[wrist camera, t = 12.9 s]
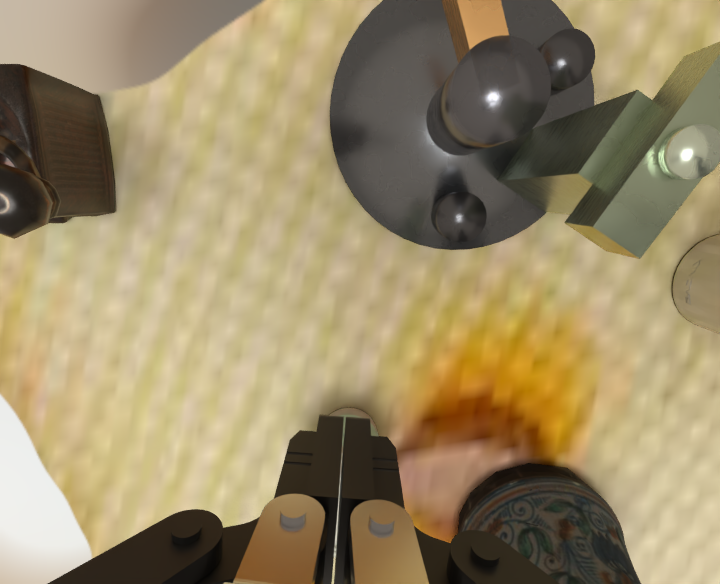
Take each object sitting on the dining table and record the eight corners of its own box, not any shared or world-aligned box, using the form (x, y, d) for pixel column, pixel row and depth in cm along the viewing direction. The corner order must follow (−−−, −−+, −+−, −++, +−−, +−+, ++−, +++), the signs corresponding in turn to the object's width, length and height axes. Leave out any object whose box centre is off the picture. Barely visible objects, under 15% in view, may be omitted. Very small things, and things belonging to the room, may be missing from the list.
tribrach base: (634, 79, 37) (928, -43, 18) (485, 290, 42) (596, 375, 22) (421, -79, 35) (502, -419, 15) (285, 163, 39) (214, 135, 20)
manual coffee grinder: (6, 223, 40) (-270, 246, 22) (-19, 93, 37) (-351, 6, 20) (174, 220, 40) (31, 242, 22) (160, 91, 38) (-12, 2, 20)
